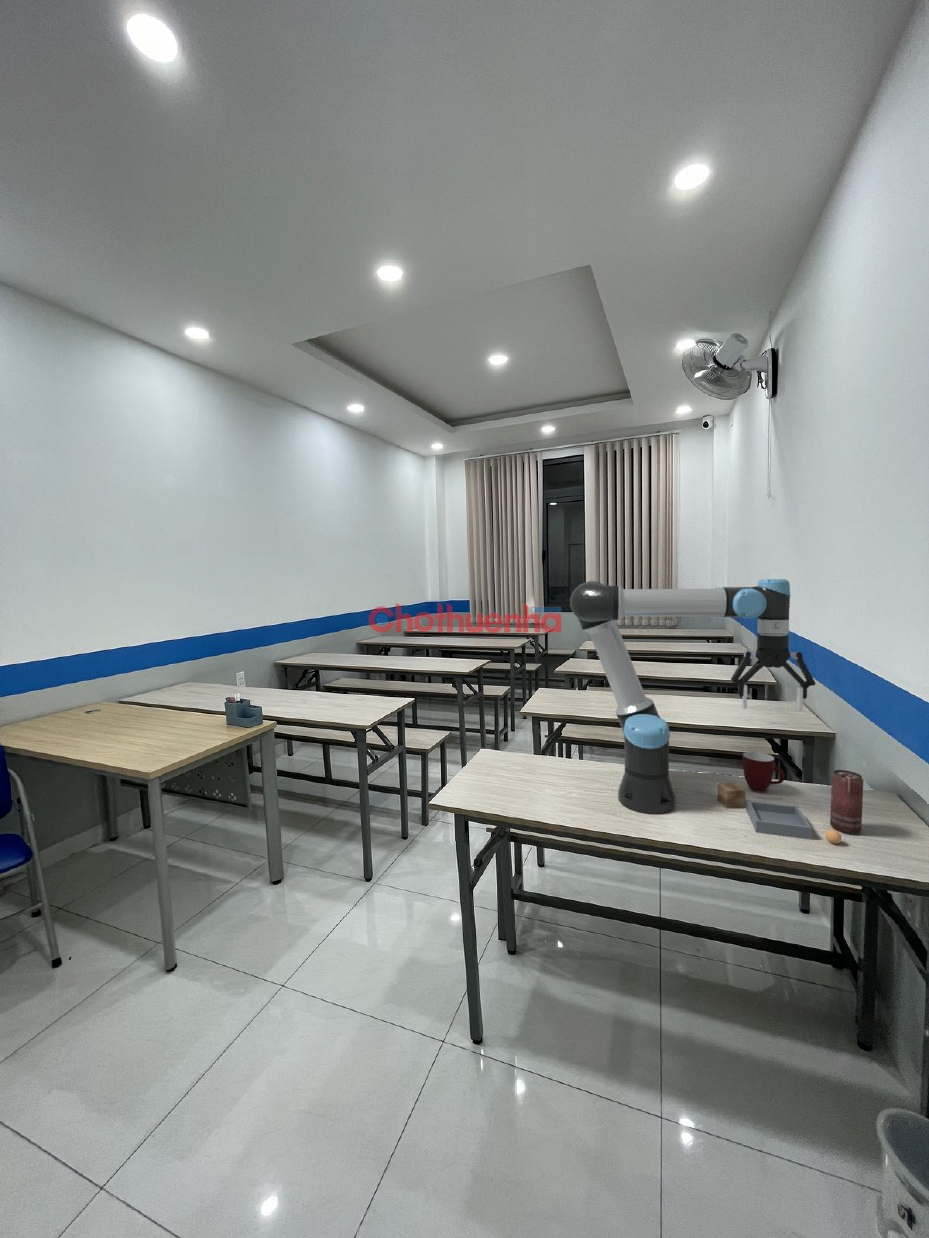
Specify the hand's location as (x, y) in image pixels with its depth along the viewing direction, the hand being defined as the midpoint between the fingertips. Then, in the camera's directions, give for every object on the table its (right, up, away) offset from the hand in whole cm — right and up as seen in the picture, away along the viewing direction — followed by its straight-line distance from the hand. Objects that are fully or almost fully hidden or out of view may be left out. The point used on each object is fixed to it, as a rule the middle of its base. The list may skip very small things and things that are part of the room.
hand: (771, 708), depth 139 cm
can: (+7, -27, -18) cm, 33 cm away
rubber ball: (-1, -26, -24) cm, 35 cm away
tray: (-8, -26, -15) cm, 32 cm away
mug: (0, -25, +4) cm, 25 cm away
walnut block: (-14, -26, -4) cm, 29 cm away
